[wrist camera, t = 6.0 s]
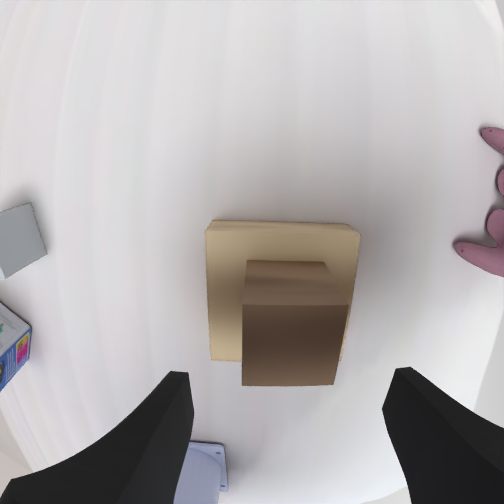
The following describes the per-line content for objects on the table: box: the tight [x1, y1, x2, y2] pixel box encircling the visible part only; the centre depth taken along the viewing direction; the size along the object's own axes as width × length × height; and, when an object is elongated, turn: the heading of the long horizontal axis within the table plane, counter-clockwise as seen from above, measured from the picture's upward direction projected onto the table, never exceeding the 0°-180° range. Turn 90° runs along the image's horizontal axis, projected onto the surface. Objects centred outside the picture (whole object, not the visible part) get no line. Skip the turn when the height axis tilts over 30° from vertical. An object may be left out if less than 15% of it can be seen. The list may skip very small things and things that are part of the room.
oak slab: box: [205, 220, 361, 362], centre depth 18 cm, size 8×8×3 cm
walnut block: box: [242, 260, 349, 386], centre depth 14 cm, size 4×4×5 cm
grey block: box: [0, 203, 47, 281], centre depth 16 cm, size 4×4×5 cm
